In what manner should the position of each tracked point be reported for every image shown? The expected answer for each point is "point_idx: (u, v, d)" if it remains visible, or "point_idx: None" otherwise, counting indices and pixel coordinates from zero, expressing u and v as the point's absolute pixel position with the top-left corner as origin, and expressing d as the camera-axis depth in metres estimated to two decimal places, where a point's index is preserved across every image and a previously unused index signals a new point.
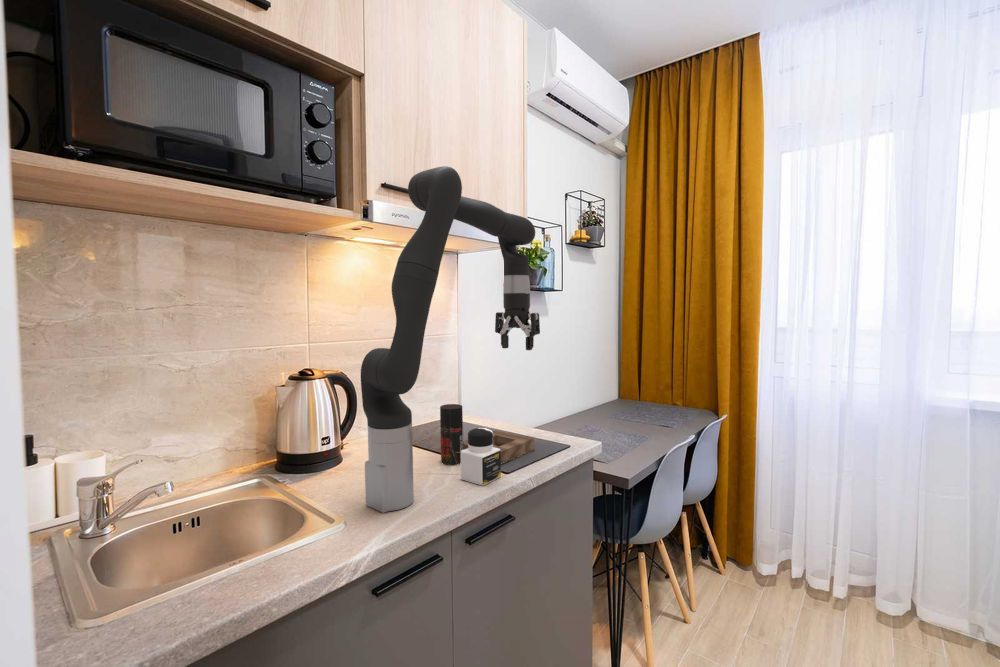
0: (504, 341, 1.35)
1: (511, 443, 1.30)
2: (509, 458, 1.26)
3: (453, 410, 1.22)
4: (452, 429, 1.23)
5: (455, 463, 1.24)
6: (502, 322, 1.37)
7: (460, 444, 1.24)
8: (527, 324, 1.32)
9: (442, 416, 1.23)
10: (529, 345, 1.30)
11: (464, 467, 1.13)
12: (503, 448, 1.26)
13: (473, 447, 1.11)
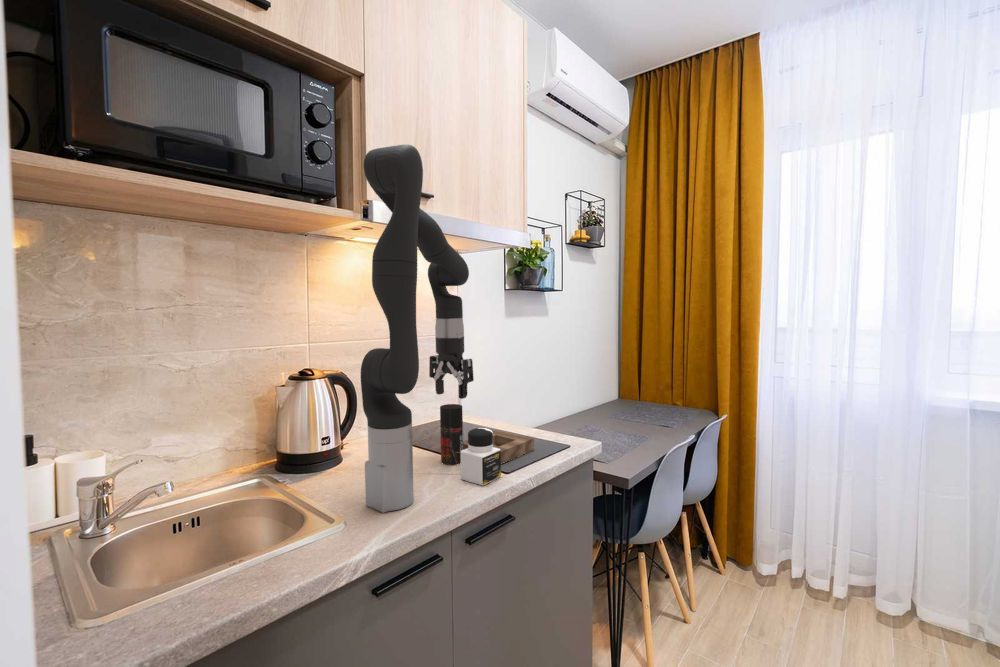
0: (438, 387, 1.27)
1: (511, 443, 1.30)
2: (509, 458, 1.26)
3: (453, 410, 1.22)
4: (452, 429, 1.23)
5: (455, 463, 1.24)
6: (437, 366, 1.29)
7: (460, 444, 1.24)
8: (461, 370, 1.24)
9: (442, 416, 1.23)
10: (462, 393, 1.21)
11: (464, 467, 1.13)
12: (503, 448, 1.26)
13: (473, 447, 1.11)
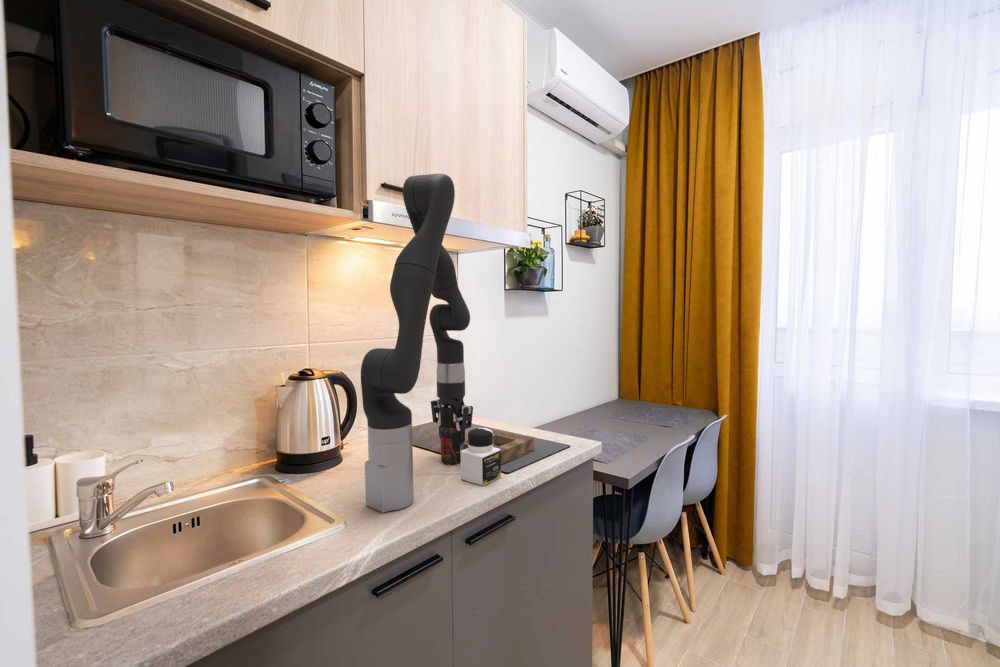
0: None
1: (511, 443, 1.30)
2: (509, 458, 1.26)
3: (453, 410, 1.22)
4: (452, 429, 1.23)
5: (455, 463, 1.24)
6: (439, 410, 1.29)
7: (460, 444, 1.24)
8: None
9: (442, 416, 1.23)
10: (460, 439, 1.23)
11: (464, 467, 1.13)
12: (503, 448, 1.26)
13: (473, 447, 1.11)
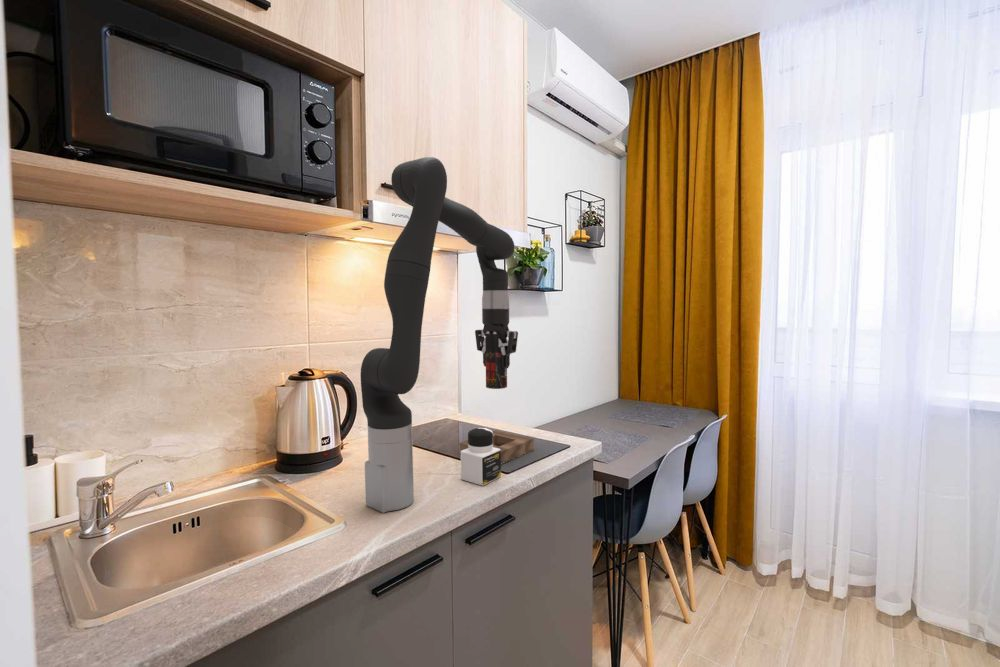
0: None
1: (511, 443, 1.30)
2: (509, 458, 1.26)
3: (499, 335, 1.28)
4: (498, 354, 1.28)
5: (500, 387, 1.29)
6: (483, 339, 1.34)
7: (505, 369, 1.30)
8: None
9: (488, 342, 1.29)
10: (505, 363, 1.28)
11: (464, 467, 1.13)
12: (503, 448, 1.26)
13: (473, 447, 1.11)
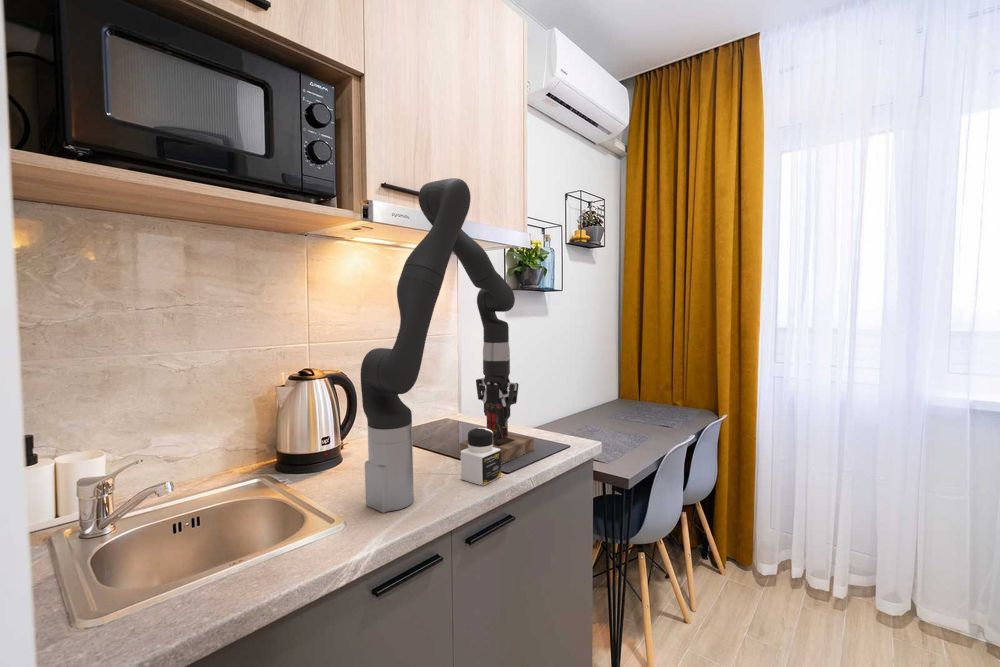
0: None
1: (511, 443, 1.30)
2: (509, 458, 1.26)
3: (499, 387, 1.29)
4: (498, 405, 1.29)
5: (501, 437, 1.30)
6: (484, 388, 1.36)
7: None
8: None
9: (489, 393, 1.30)
10: (506, 415, 1.29)
11: (464, 467, 1.13)
12: (503, 448, 1.26)
13: (473, 447, 1.11)
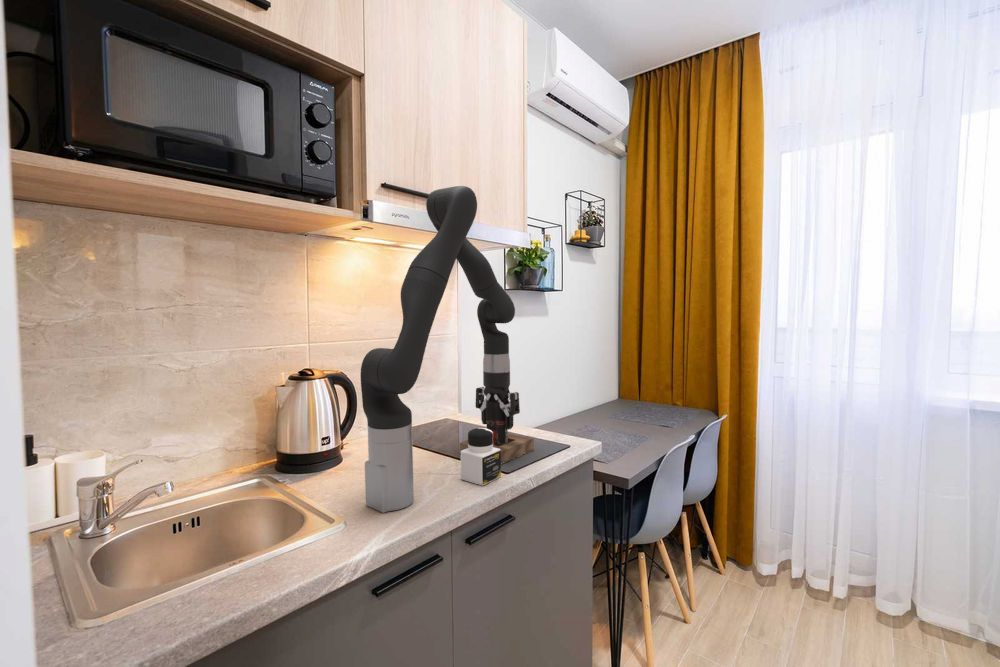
0: (484, 417, 1.34)
1: (511, 443, 1.30)
2: (509, 458, 1.26)
3: (499, 404, 1.29)
4: (498, 422, 1.29)
5: None
6: (483, 397, 1.36)
7: (505, 436, 1.31)
8: (507, 402, 1.31)
9: (489, 409, 1.30)
10: (509, 424, 1.29)
11: (464, 467, 1.13)
12: (503, 448, 1.26)
13: (473, 447, 1.11)
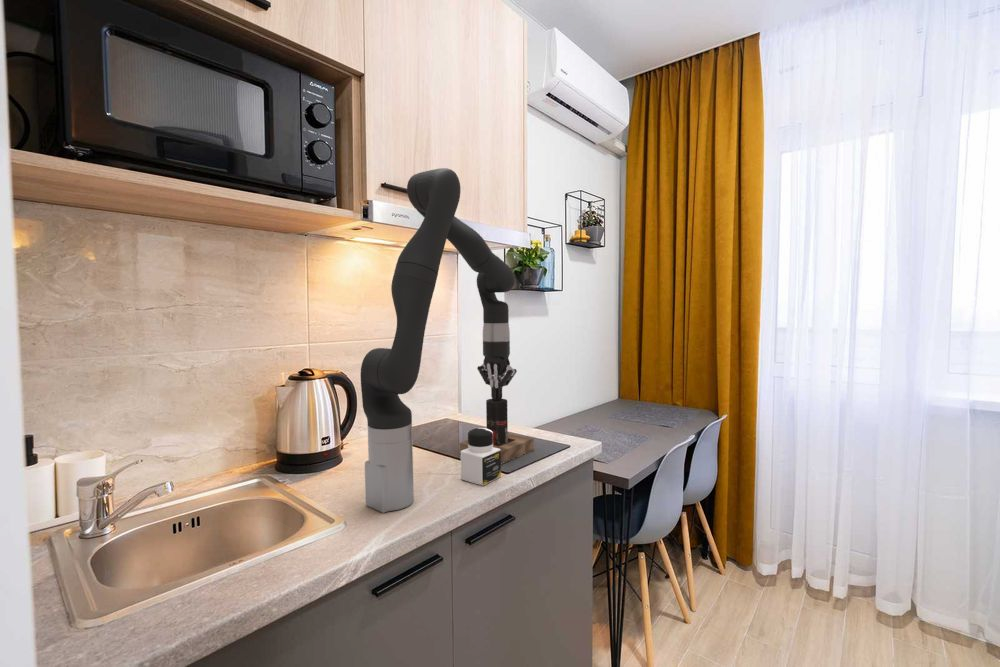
0: (494, 394, 1.31)
1: (511, 443, 1.30)
2: (509, 458, 1.26)
3: (499, 404, 1.29)
4: (498, 422, 1.29)
5: None
6: (488, 373, 1.34)
7: (505, 436, 1.31)
8: None
9: (489, 409, 1.30)
10: (498, 396, 1.31)
11: (464, 467, 1.13)
12: (503, 448, 1.26)
13: (473, 447, 1.11)
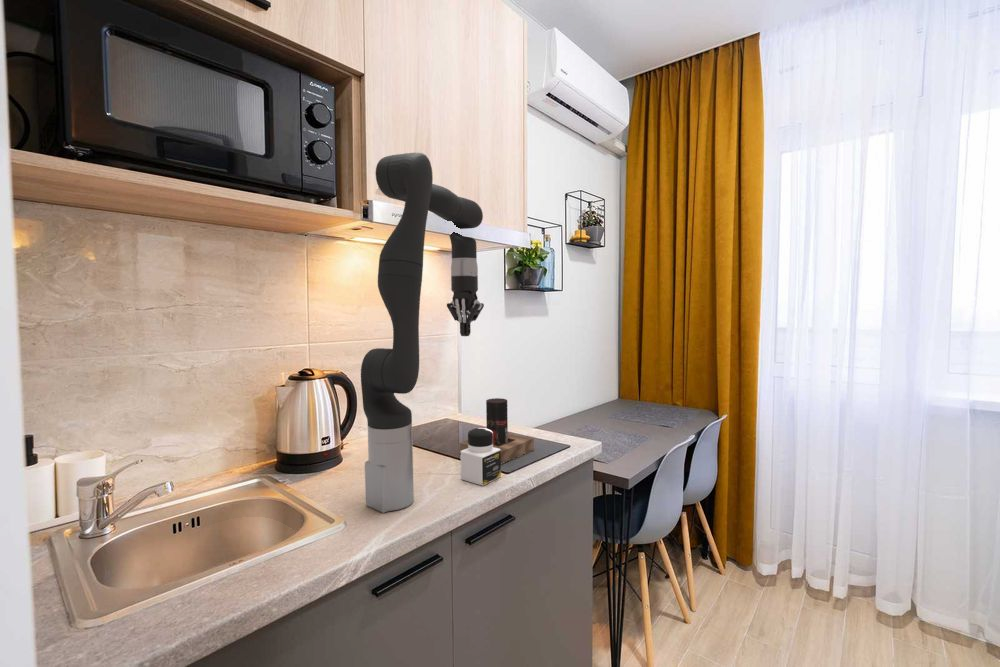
0: (463, 329, 1.33)
1: (511, 443, 1.30)
2: (509, 458, 1.26)
3: (499, 404, 1.29)
4: (498, 422, 1.29)
5: None
6: (457, 310, 1.36)
7: (505, 436, 1.31)
8: None
9: (489, 409, 1.30)
10: (466, 331, 1.33)
11: (464, 467, 1.13)
12: (503, 448, 1.26)
13: (473, 447, 1.11)
